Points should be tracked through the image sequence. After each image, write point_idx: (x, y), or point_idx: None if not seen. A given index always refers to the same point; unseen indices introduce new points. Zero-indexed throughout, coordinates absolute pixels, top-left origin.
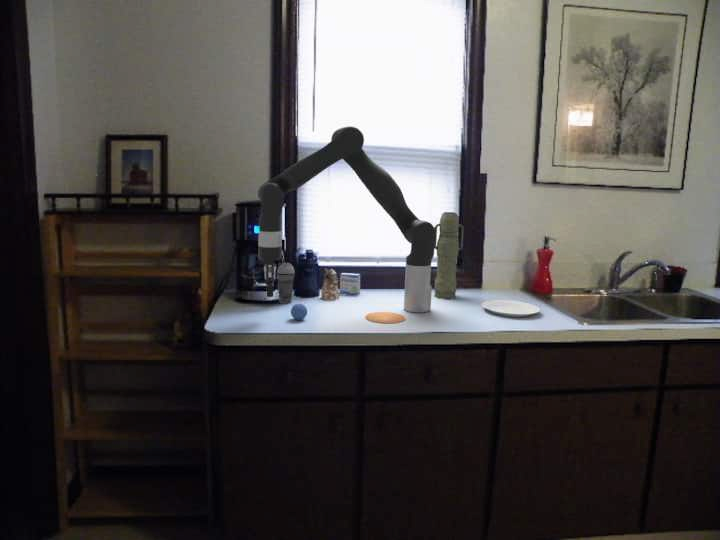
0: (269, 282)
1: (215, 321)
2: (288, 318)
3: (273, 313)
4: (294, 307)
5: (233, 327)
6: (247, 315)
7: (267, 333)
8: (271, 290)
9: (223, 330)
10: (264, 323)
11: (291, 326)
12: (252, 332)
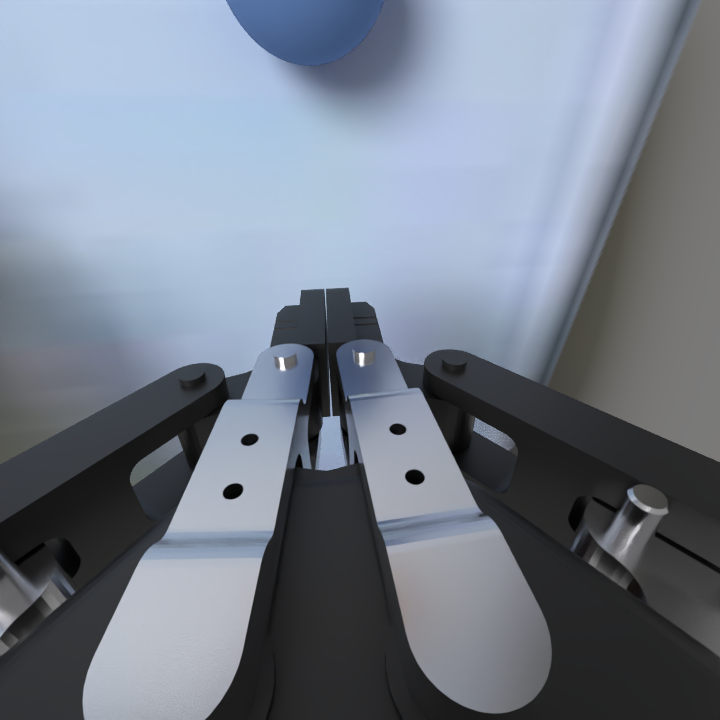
0: (473, 423)
1: None
2: (269, 93)
3: (138, 225)
4: (350, 9)
5: None
6: None
7: (596, 244)
8: (378, 334)
9: None
10: (393, 273)
11: (496, 70)
12: (550, 322)
